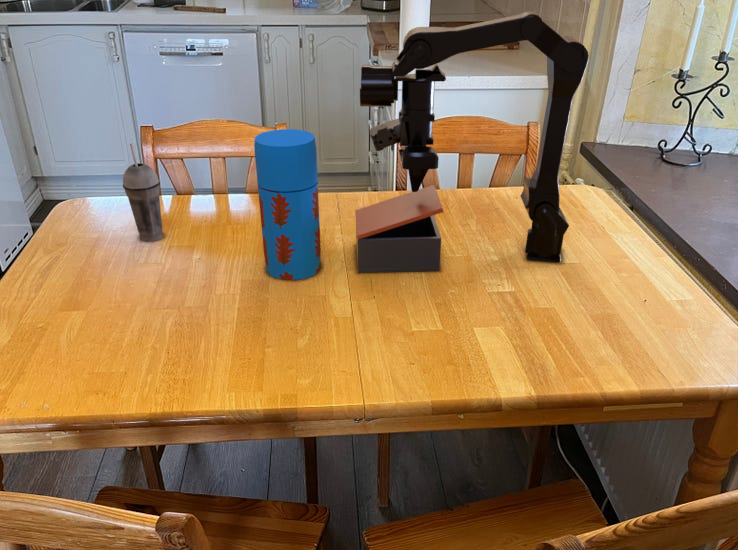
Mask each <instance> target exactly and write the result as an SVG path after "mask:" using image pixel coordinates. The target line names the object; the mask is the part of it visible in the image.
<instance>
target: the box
mask: <svg viewBox="0 0 738 550" xmlns="http://www.w3.org/2000/svg"><path fill="white" fill-rule="evenodd" d="M355 246H356V260H357V273H358V274H368V273H369V274H371V273H375V274H376V273H417V272H419V273H421V272H440V266H441V253H442V252H441V250H442V236H441V233H440V230H439V226H438V223H437V220H436V217H435V215H433V216H430V217H427V218H424V219H420V220H417V221H414V222H411V223H408V224H405V225H402V226H399V227H396V228H393V229H389V230H386V231H383V232H380V233H377V234H374V235H371V236H368V237H365V238H362V239H358V237H357V226H356V225H355Z"/></svg>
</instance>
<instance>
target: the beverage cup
mask: <svg viewBox="0 0 738 550" xmlns="http://www.w3.org/2000/svg"><path fill="white" fill-rule="evenodd" d="M129 147H130V149H131V150H130V151H131V155H132V160H133V163H134V164H131V165H130V166H128V167H127V168H126V169H125V171H124V173H123V176H122V188H123V190H124V192H125V195H126V197H127V199H128V203H129V205H130V208H131V212H132V215H133V218H134V222H135V226H136V229H137V232H138V234H139V238H140V241H143V242H155V241H158V240H160V239H162V238H163V222H162V211H161V210H162V209H161V201H160V190H161V189H160V187H161V186H160V184H161V182H160V180H159V177H158V174H157V173H156V171H155V170H154V169H153V168H152V167H150V166H149V165H147V164H145V163H141V162H140V163H138V161H137V157H136V153H135V149H134V144H133V143H131V142H130V143H129Z"/></svg>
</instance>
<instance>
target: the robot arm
mask: <svg viewBox="0 0 738 550" xmlns="http://www.w3.org/2000/svg"><path fill="white" fill-rule="evenodd" d="M523 41H528V42H529V43H530V44H532V45H533V46H534V47H535V48H537V50H539V51H540V52H541V53H542V54H544V55H545V57H546V78H547V88H548V91H547V93H548V95H547V99H546V100H547V101H546V107H545V113H544V117H543V123H542V130H541V135H540V141H539V147H538V153H537V159H536V164H535V165H536V166H535V170H534V171H533V174H532V175H531V177H526V176H524V177H523V189H522V192H521V194H520V198H521V201H522V205H523V206H524V208H525V210H526V213H527V215H528V218H529V219H530V220H531V227H530V228H529V229H528V228H527V234H526V242H525V249H524V252H525V254H526V260H529V261H538V262H548V263H556V264H557V263H561V261H562V249H563V248H562V247H563V242H564V236H565V234H566V232H567V231H568V229H569V227H570V224H569V222H568V220H567V218H566V217H565V214H564V213H563V210H562V209H561V207H560V186H559V185H560V184H559V171H560V168H561V167H560V166H561V161H562V157H563V151H564V146H565V141H566V135H567V130H568V125H569V118H570V115H571V114H570V113H571V109H572V104H573V103H572V102H573V99H574V96H575V94H576V92H577V91H578V88H579V87H580V85H581V83H582V81H583V78H584V76H585V73H586V70H587V67H588V64H589V56H590V55H589V51H588V49H587V48H586V46H585V45H584V44H582V42H580V41H579V40H578V39H576V38H575V37H573V36H571V35H563V36H561V34H559V33H558V32H556V30H554V29H553V28H552V27H551V26H550V25H548V24H546V23H545V22H544V21H543V18H541V16H539V15H538V14H537V13H536V12H534V11H531V10H530V11H524V12H523V13H520V14H516V15H515V14H514V15H510V16H506V17H501V18H500V17H499V18H495V19H491V20H490V19H489V20H486V21H485V20H484V21H481V22H475V23H471V24H466V25H461V26H457V27H445V26H416V27H414V28H412V29H410V30H408V32H407V33H406V35H405V36H404V38H403V42H402V50H401V51H400V52H399V54H398V55H397V57H395V58H394V60H393V62H392V63H391V65H371V64H362V65H361V68H360V71H361V72H360V73H361V74H360V75H361V76H360V85H359V105H360V107H371V108H372V107H373V108H375V107H377V108H378V107H379V108H384V107H387V108H388V107H389V108H390V107H391V108H392V105H393V104H395V102H397V101H399V82H401V109H400V110H399V111H398V118H395V119H392V120H389V121H386V122H383V123H381V124H378V125H375V126H373V127H371V128H370V129H369V135H370V138H371V141H372V144H373V147H374V149H375V152H381V151H383V150H385V149H386V148H388V147H390V146H391V147H392V146H393V145H396V144H399V146H400V147H402V148H400V149H398V154H399V158H400V159H399V160H400V162H401V166H402V169H403V170H408V176H409V177H408V178H409V183H410V189H411V192H417V191H418V190H419V189H421V186H422V184H423V182H424V179H425V177H426V175H427V174H428V172H429V170H437V169H439V155H438V152H437V151H436V150H435V149H434V148H433V146H434V136H433V126H434V122H435V120H436V119H435V117H436V115H435V113H434V105H435V87H436V86H435V84H436V82H446V80H447V76H446V73H445V72H443V71H442V69H440V67H439V63H442V62H444V61H446V60H447V59H449V58H452V57H453V56H456V55H459V54H462V53H463V54H464V53H469V52H473V51H477V50H478V51H479V50H484V49H488V48H493V47H498V46H504V45H508V44H512V43H513V44H515V43H517V42H523ZM432 66H433V67H432ZM429 67H432V68H430V69H429ZM427 68H428V69H427ZM414 70H415V71H414ZM413 71H414V73H411V72H413Z"/></svg>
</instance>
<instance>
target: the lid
mask: <svg viewBox="0 0 738 550" xmlns="http://www.w3.org/2000/svg"><path fill="white" fill-rule="evenodd" d="M442 213H444V208H443V205H442V202H441V200H440V197H439V194H438V191H437V188H436V186H435V184H431V185H428V186H425V187H421V188H419V190H418V191H417V192H412V191H410V192H407V193H404V194H400V195H397V196H395V197H394V196H393V197H392V198H387V199H386V200H382V201H379V202H377V203H374V204H370V205H368V206H364V207H361V208H358V209H356V210H355V227H356V226H357V237H358V239H362V238H365V237H368V236H371V235H374V234H377V233H380V232H383V231H386V230H389V229H393V228H396V227H399V226H402V225H405V224H408V223H411V222H414V221H417V220H420V219H424V218H427V217H430V216H433V215H434V216H436V215H439V214H442Z"/></svg>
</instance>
